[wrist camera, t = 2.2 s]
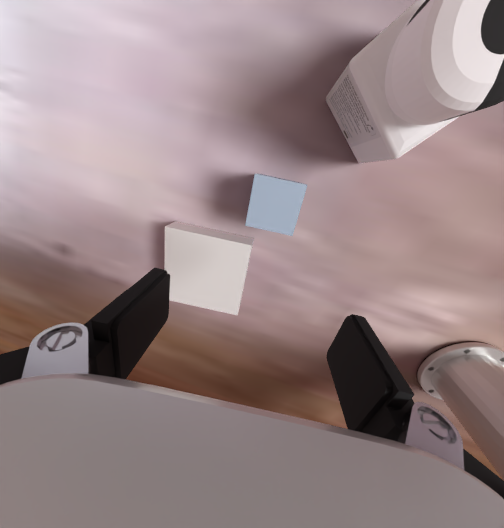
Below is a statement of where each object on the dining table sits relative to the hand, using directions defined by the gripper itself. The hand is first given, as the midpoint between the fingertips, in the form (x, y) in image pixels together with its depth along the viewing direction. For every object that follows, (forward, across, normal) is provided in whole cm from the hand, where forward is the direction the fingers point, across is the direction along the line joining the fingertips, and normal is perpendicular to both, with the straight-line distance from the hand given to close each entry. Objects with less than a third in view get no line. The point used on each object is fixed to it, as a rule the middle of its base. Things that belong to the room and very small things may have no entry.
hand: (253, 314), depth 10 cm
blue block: (+18, 0, -4) cm, 18 cm away
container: (+18, -8, -15) cm, 25 cm away
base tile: (+18, +6, +7) cm, 20 cm away
